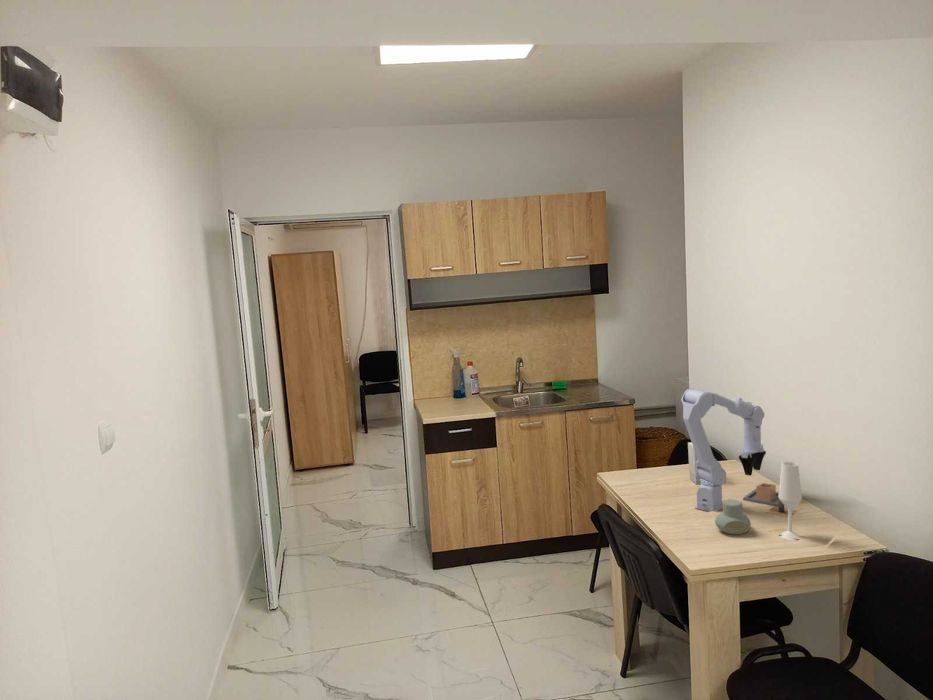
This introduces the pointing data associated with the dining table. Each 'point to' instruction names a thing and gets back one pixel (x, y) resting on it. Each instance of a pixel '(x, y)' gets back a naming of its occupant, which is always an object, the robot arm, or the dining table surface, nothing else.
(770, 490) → the brown cube box
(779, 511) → the stand
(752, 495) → the tray
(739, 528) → the air freshener
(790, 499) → the champagne flute
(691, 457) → the skincare box
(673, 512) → the dining table surface
